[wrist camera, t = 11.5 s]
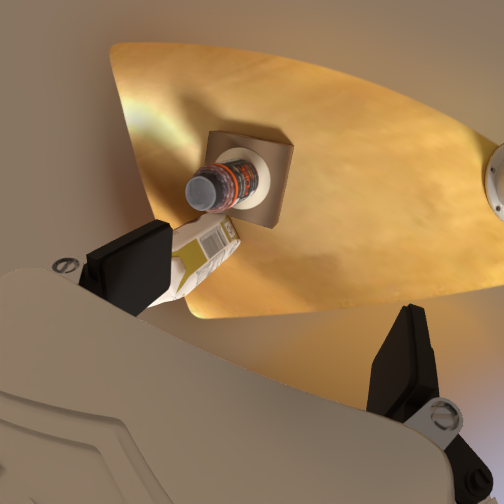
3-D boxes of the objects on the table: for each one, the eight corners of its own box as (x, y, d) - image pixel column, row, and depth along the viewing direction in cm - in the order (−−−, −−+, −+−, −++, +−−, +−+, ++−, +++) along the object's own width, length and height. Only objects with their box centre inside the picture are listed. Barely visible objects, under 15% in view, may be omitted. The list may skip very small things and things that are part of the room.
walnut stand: (294, 145, 41) (288, 146, 38) (277, 222, 46) (271, 229, 43) (218, 130, 44) (208, 131, 41) (208, 202, 49) (198, 207, 46)
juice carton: (248, 244, 49) (184, 303, 33) (208, 259, 54) (140, 315, 37) (227, 202, 48) (152, 244, 32) (188, 221, 52) (111, 265, 36)
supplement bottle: (267, 190, 41) (232, 211, 32) (231, 203, 44) (190, 227, 34) (250, 150, 40) (210, 159, 30) (215, 166, 43) (169, 180, 33)
